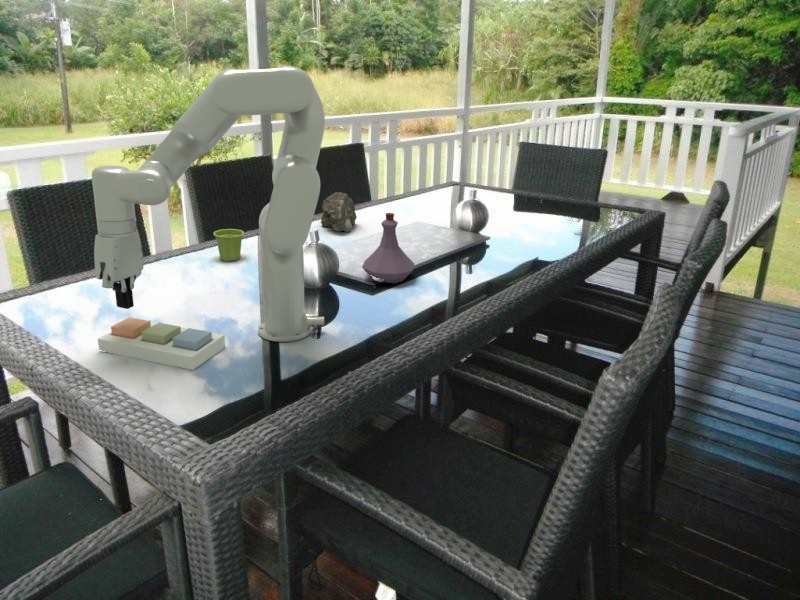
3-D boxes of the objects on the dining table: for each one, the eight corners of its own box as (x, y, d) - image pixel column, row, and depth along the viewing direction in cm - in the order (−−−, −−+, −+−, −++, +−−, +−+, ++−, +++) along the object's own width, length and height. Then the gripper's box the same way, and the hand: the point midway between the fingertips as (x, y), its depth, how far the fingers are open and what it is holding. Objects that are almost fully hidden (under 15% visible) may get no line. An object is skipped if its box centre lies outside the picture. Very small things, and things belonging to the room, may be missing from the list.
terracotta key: (151, 330, 143) (150, 321, 142) (133, 339, 138) (132, 330, 137) (130, 326, 145) (129, 317, 144) (112, 335, 140) (110, 326, 139)
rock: (358, 188, 231) (322, 177, 235) (341, 221, 226) (305, 209, 231) (367, 213, 248) (334, 202, 252) (352, 244, 243) (318, 232, 247)
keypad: (225, 347, 142) (224, 334, 141) (193, 370, 131) (191, 357, 130) (136, 330, 149) (135, 318, 148) (99, 351, 138) (97, 338, 137)
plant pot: (249, 255, 207) (247, 229, 203) (239, 264, 198) (238, 237, 195) (221, 253, 207) (219, 228, 204) (210, 262, 199) (208, 235, 195)
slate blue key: (212, 341, 139) (211, 332, 138) (196, 351, 133) (195, 342, 133) (189, 337, 140) (188, 328, 139) (173, 347, 135) (172, 338, 134)
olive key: (181, 335, 141) (180, 326, 140) (164, 345, 136) (163, 336, 135) (159, 331, 142) (158, 322, 142) (142, 341, 137) (141, 332, 137)
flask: (350, 281, 186) (350, 215, 179) (377, 267, 200) (379, 205, 193) (399, 292, 179) (401, 223, 172) (424, 276, 193) (427, 212, 186)
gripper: (127, 216, 140) (134, 293, 147) (75, 231, 127) (85, 315, 133) (155, 220, 138) (161, 298, 145) (105, 236, 125) (115, 321, 131)
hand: (125, 306), depth 139 cm, fingers closed
